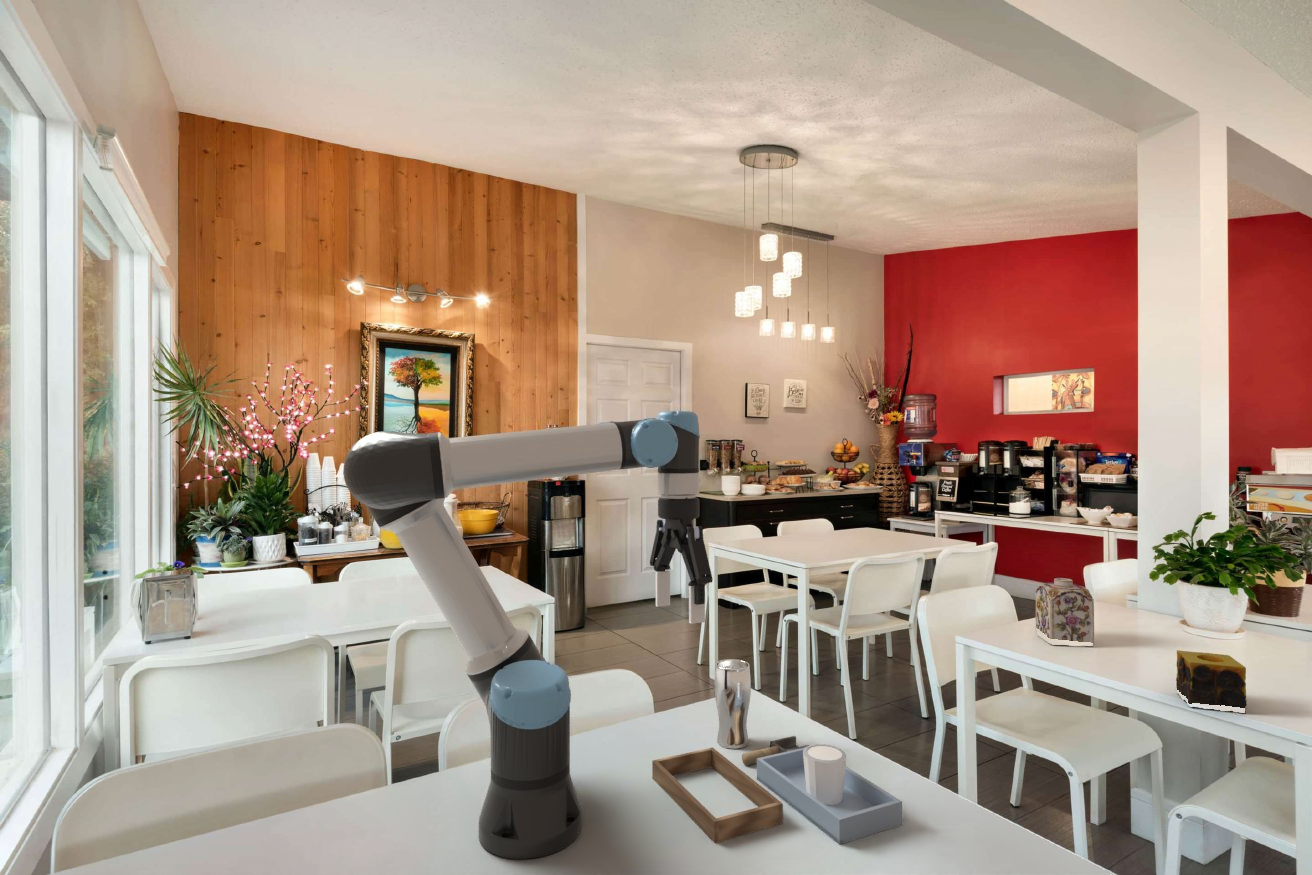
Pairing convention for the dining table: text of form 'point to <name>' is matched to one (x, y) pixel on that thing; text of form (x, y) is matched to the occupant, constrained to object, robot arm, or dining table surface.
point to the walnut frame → (739, 822)
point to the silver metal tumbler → (732, 702)
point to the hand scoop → (771, 749)
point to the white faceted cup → (825, 772)
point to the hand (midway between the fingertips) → (679, 613)
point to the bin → (844, 821)
